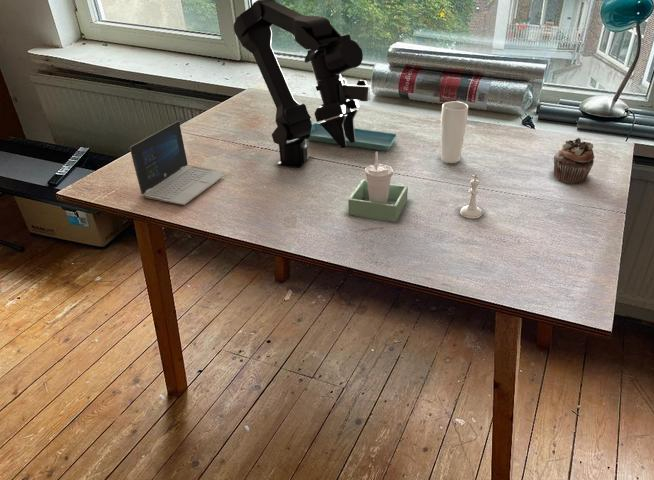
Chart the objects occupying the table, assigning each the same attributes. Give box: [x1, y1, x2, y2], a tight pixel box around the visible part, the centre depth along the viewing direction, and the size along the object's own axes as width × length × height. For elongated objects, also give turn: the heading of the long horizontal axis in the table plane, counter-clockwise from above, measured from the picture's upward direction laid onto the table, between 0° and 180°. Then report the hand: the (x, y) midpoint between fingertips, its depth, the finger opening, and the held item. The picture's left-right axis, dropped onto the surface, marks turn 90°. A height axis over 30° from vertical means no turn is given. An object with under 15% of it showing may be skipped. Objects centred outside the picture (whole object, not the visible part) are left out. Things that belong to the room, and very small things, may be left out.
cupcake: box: [553, 137, 595, 185], centre depth 142 cm, size 10×10×10 cm
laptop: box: [129, 120, 228, 206], centre depth 138 cm, size 18×12×13 cm
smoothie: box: [364, 150, 394, 204], centre depth 129 cm, size 6×6×14 cm
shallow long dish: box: [306, 122, 399, 152], centre depth 164 cm, size 26×9×2 cm, turn 72°
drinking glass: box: [440, 100, 469, 164], centre depth 149 cm, size 7×7×15 cm
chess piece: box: [459, 172, 483, 219], centre depth 128 cm, size 5×5×10 cm
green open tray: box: [347, 179, 409, 223], centre depth 132 cm, size 11×10×4 cm
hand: (348, 145), depth 133 cm, fingers open, 9 cm apart
